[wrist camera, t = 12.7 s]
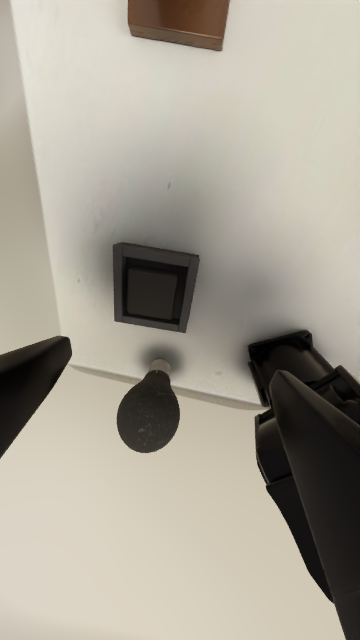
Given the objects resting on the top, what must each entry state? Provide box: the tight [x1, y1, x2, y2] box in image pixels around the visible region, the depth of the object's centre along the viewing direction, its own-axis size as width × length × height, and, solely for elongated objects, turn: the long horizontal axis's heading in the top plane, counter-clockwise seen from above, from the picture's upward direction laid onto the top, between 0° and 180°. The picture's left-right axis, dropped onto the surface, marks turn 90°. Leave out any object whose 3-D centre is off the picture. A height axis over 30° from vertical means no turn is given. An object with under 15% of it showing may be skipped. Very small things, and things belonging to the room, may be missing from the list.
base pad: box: [113, 242, 200, 333], centre depth 18 cm, size 7×7×2 cm
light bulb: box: [117, 359, 180, 453], centre depth 19 cm, size 6×6×10 cm
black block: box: [128, 265, 179, 320], centre depth 17 cm, size 4×4×2 cm
